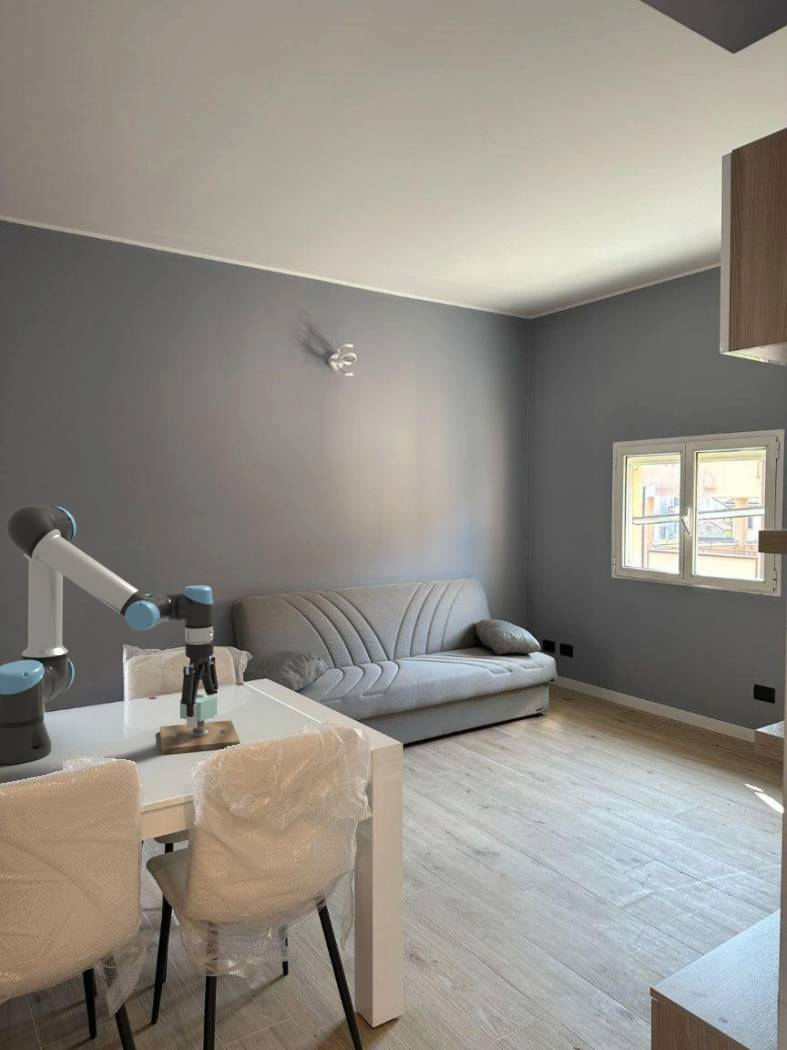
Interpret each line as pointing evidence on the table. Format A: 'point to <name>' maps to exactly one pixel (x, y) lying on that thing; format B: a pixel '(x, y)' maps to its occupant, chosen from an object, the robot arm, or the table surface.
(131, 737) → the table surface
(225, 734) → the walnut base
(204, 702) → the cap
